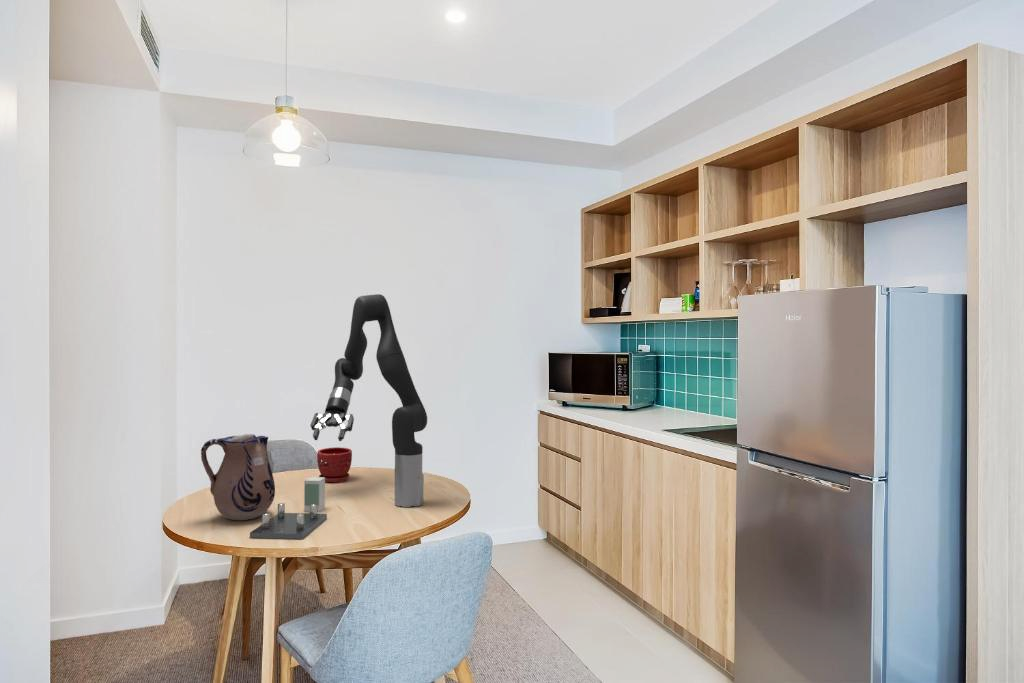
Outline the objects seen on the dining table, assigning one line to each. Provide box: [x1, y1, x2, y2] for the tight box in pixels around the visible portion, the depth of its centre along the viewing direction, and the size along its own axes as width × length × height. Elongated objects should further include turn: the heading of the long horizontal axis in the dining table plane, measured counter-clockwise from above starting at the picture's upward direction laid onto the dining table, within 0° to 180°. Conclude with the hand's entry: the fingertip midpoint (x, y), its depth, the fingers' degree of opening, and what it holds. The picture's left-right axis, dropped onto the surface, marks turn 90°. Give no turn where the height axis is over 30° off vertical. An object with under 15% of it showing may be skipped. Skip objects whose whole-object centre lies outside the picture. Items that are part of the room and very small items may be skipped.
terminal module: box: [303, 476, 326, 512], centre depth 206 cm, size 5×5×10 cm
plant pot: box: [316, 446, 353, 483], centre depth 247 cm, size 13×13×12 cm
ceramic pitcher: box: [200, 433, 276, 521], centre depth 196 cm, size 18×21×25 cm
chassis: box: [249, 502, 328, 540], centre depth 186 cm, size 15×20×6 cm
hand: (327, 439), depth 218 cm, fingers open, 8 cm apart
